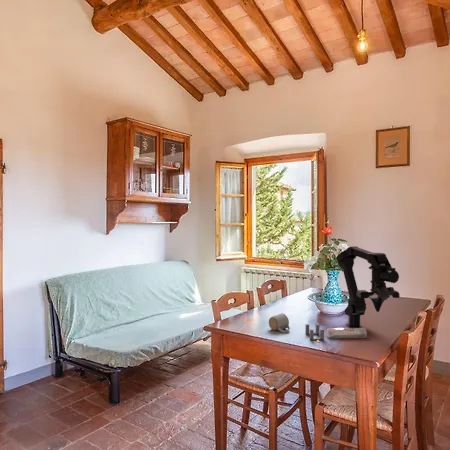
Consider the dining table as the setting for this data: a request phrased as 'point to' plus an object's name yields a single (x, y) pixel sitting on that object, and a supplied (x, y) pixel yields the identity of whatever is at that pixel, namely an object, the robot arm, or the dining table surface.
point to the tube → (346, 332)
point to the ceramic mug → (279, 323)
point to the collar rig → (314, 333)
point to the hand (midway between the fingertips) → (377, 311)
